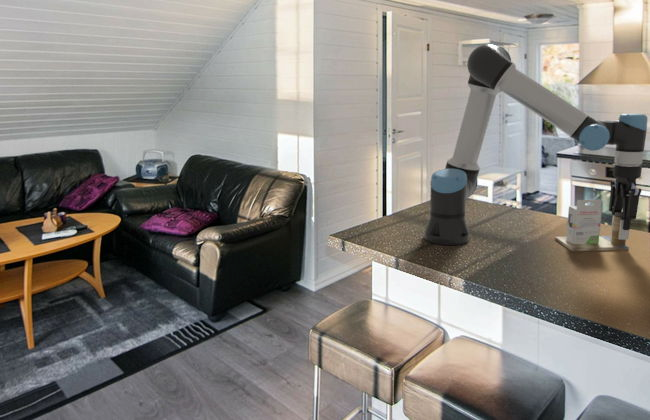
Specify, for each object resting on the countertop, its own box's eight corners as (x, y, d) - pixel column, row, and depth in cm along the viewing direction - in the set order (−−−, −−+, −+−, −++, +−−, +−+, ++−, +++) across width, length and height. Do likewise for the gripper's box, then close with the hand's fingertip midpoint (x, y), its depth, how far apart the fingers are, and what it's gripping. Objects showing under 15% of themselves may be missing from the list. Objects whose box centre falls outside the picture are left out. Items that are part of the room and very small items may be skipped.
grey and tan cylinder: (615, 245, 164) (619, 215, 161) (608, 241, 168) (612, 211, 165) (627, 245, 164) (631, 214, 161) (620, 241, 168) (624, 211, 165)
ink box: (590, 239, 171) (595, 195, 167) (598, 244, 166) (604, 199, 162) (564, 240, 170) (569, 196, 167) (572, 244, 166) (576, 199, 162)
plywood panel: (570, 250, 163) (571, 247, 163) (554, 239, 175) (555, 236, 174) (628, 250, 163) (628, 246, 162) (608, 238, 174) (609, 235, 174)
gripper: (656, 168, 151) (646, 245, 157) (625, 160, 168) (616, 229, 173) (631, 169, 151) (621, 245, 157) (601, 160, 168) (594, 229, 173)
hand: (619, 236), depth 165 cm, fingers closed on grey and tan cylinder, 4 cm apart
